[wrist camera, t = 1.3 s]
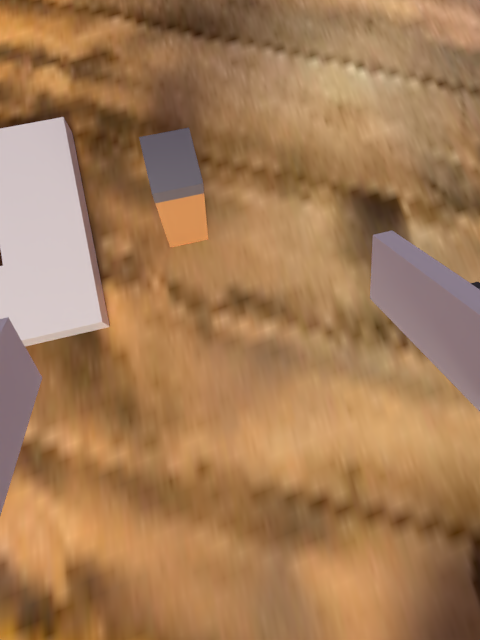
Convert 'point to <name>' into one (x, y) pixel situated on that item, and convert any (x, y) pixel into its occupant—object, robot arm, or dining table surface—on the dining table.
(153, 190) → the two-tone grey orange block
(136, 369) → the dining table surface
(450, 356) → the robot arm
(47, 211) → the socket
